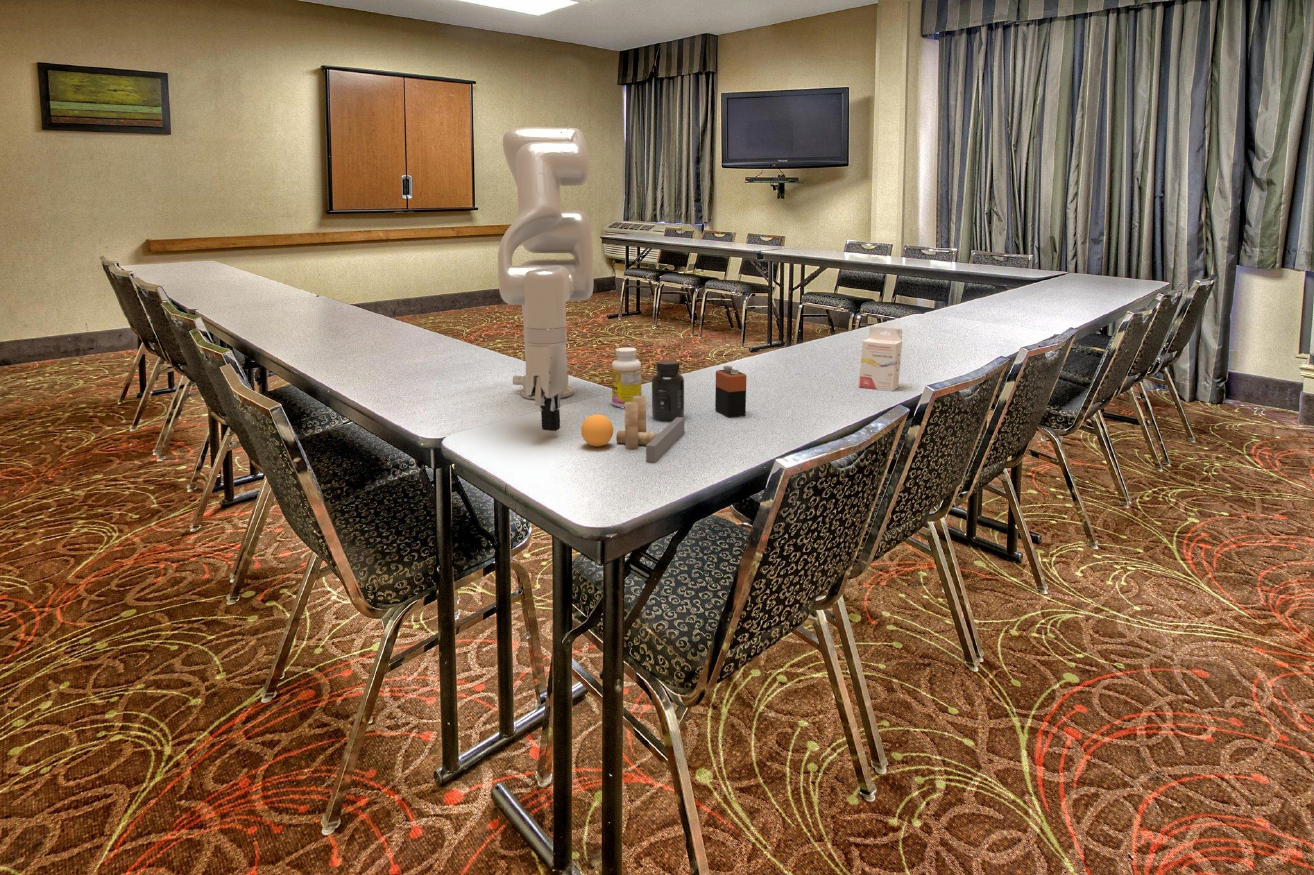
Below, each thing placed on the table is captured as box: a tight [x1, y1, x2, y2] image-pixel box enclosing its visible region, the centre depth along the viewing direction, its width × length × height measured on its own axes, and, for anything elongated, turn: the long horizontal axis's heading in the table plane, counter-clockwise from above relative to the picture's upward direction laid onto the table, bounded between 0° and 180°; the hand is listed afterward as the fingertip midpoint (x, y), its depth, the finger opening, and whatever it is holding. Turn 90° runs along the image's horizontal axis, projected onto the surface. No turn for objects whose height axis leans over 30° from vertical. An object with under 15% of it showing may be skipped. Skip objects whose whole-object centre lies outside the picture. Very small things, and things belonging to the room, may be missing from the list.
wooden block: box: [615, 430, 659, 446], centre depth 148 cm, size 2×2×8 cm
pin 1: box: [624, 402, 639, 450], centre depth 145 cm, size 2×2×8 cm
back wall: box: [645, 417, 685, 463], centre depth 146 cm, size 2×20×3 cm, turn 163°
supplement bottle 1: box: [611, 347, 643, 408], centre depth 176 cm, size 7×7×13 cm
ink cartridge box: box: [858, 325, 903, 392], centre depth 190 cm, size 9×5×15 cm, turn 58°
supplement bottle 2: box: [651, 359, 685, 422], centre depth 165 cm, size 7×7×12 cm
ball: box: [580, 414, 614, 447], centre depth 146 cm, size 6×6×6 cm
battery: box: [714, 365, 747, 418], centre depth 168 cm, size 4×7×10 cm, turn 21°
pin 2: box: [633, 395, 647, 433], centre depth 150 cm, size 2×2×8 cm
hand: (551, 429), depth 153 cm, fingers closed
